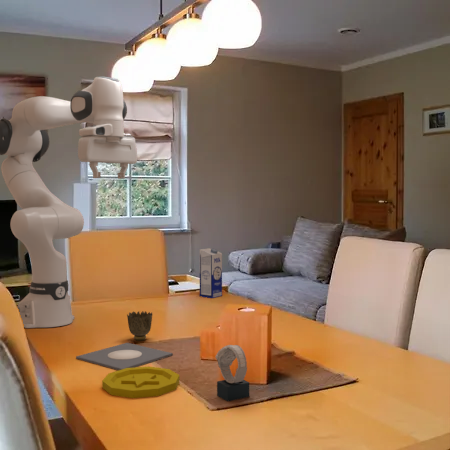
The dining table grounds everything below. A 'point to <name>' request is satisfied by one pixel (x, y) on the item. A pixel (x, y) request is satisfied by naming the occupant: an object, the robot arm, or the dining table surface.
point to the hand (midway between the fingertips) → (109, 178)
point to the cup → (139, 324)
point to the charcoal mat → (124, 356)
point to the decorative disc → (140, 382)
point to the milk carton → (210, 273)
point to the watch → (231, 385)
